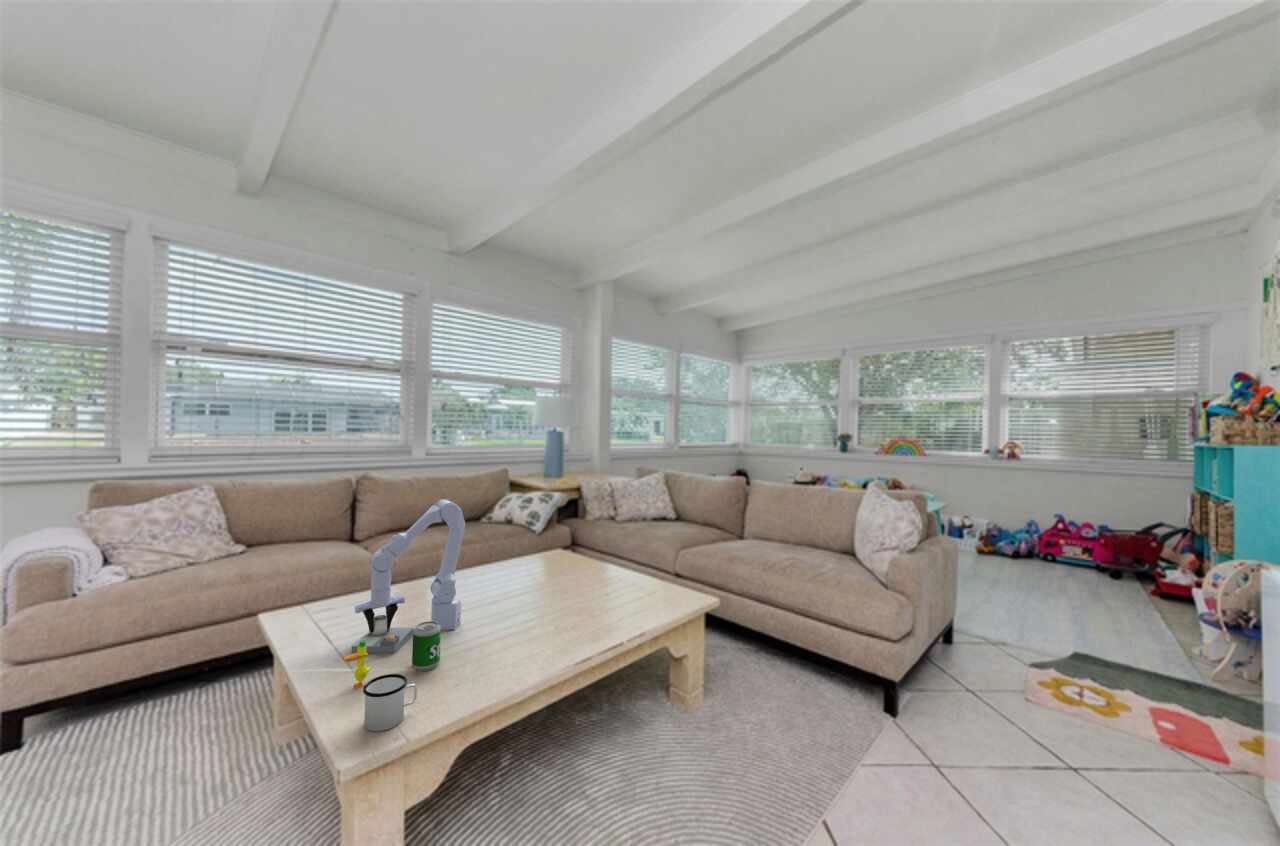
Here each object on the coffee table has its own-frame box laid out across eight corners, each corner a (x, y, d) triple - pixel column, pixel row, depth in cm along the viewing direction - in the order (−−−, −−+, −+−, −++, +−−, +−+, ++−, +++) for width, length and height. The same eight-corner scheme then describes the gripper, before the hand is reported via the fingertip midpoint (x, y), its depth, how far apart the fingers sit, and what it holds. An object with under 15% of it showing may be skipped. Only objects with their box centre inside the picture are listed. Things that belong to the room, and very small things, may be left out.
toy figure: (344, 693, 127) (346, 647, 127) (341, 687, 129) (343, 643, 130) (373, 684, 131) (374, 640, 132) (369, 679, 134) (371, 636, 134)
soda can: (422, 675, 137) (423, 632, 137) (406, 667, 141) (407, 626, 141) (445, 664, 144) (446, 624, 144) (429, 657, 148) (430, 618, 148)
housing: (413, 634, 163) (413, 622, 163) (395, 654, 149) (395, 641, 149) (373, 634, 162) (373, 622, 162) (351, 654, 148) (351, 641, 148)
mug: (368, 739, 109) (369, 699, 109) (356, 720, 116) (357, 682, 116) (422, 718, 117) (424, 680, 117) (408, 701, 124) (410, 666, 124)
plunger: (396, 641, 152) (396, 634, 152) (392, 644, 150) (392, 638, 150) (387, 641, 152) (387, 634, 152) (383, 644, 150) (383, 638, 150)
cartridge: (389, 635, 161) (389, 614, 161) (383, 641, 157) (383, 619, 157) (375, 635, 161) (376, 614, 161) (369, 641, 157) (369, 619, 157)
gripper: (400, 580, 167) (399, 620, 167) (352, 589, 157) (351, 631, 157) (407, 585, 162) (406, 626, 162) (358, 595, 152) (357, 638, 152)
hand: (379, 629), depth 159 cm, fingers closed on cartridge, 4 cm apart
